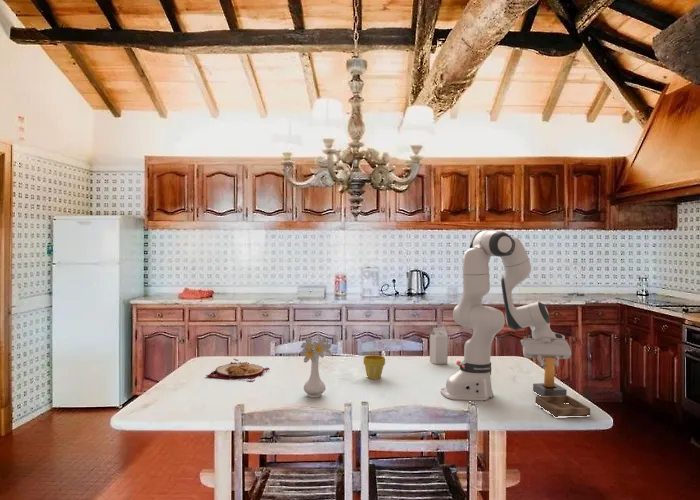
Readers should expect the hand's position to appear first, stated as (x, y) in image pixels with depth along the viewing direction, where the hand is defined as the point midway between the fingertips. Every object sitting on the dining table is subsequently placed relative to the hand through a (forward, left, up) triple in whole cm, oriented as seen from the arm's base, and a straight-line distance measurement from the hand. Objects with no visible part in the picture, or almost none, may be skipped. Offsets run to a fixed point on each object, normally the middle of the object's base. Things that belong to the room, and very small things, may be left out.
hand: (550, 365), depth 224 cm
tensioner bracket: (0, +1, -13) cm, 13 cm away
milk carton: (-31, +62, -13) cm, 70 cm away
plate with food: (-135, +50, -14) cm, 144 cm away
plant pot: (-71, +36, -13) cm, 80 cm away
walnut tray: (-5, -18, -13) cm, 23 cm away
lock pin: (0, +1, -9) cm, 9 cm away
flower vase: (-101, +9, -13) cm, 102 cm away
